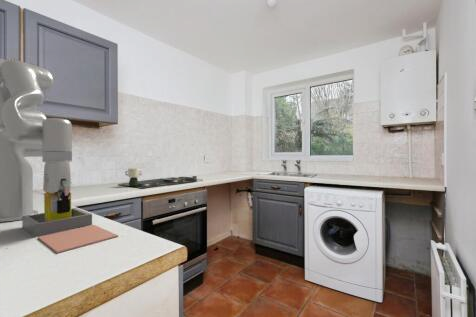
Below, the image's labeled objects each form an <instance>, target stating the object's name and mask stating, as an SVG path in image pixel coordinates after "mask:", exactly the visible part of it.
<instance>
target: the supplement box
mask: <svg viewBox="0 0 476 317" xmlns="http://www.w3.org/2000/svg"><path fill="white" fill-rule="evenodd" d="M69 192H70V191H69ZM61 195H62V194H61ZM43 198H44V199H43V200H44V201H43V205H44V207H43V210H44V211H43V213H44V215H45V222H47V221H53V220H58V219H64V218H69V217H71V209H72V192H70V212H66V213H60V214H58V213H57V201H58V197H57V193H56V192H55V193H54V194H50V193H47V192H44V194H43Z"/></svg>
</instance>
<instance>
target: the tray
mask: <svg viewBox="0 0 476 317" xmlns="http://www.w3.org/2000/svg"><path fill="white" fill-rule="evenodd" d="M21 224H22V228H23V229H24V230H25V231H27V232H28V233H29V234H30V235H32V236H33V237H34V238H38V237H40V236H45V235H49V234H54V233H58V232H63V231H67V230H72V229H77V228H79V227H80V228H81V227H83V226H84V227H86V226H88V225H89V226H90V225H93V214H92V213H90V212H86V211H84V210H82V209H79V208H76V207H73V208H72V207H71V217H69V218H64V219H58V220H53V221H47V222H45V215H44V212H41V213H38V214H33V215H27V216H22V223H21Z"/></svg>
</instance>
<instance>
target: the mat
mask: <svg viewBox="0 0 476 317" xmlns="http://www.w3.org/2000/svg"><path fill="white" fill-rule="evenodd" d="M118 237H119V235H118V234H116V233H114V232H112V231H109V230H107V229H104V228H102V227H101V226H100V227H99V225H95V224H92V225H89V226H84V227H80V228H75V229H70V230H66V231H61V232H57V233H52V234H47V235H43V236H38V237H37V239H38V240H40V241H41V242H42V243H44V244H45V245H46V246H47V247H48V246H49V248H50V249H51V250H52V251H54V252H55V253H56V254H61V253H65V252H68V250H69V251H71V250H75V249H74V248H76V249H78V247H79V248H83V247H86V246H90V245H92V244H96V243H101V242H103V241H104V242H105V241H107V239H108V240H112V239H114V238H115V239H116V238H118ZM111 238H112V239H111ZM89 244H90V245H89ZM82 246H83V247H82Z"/></svg>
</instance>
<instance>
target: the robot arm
mask: <svg viewBox="0 0 476 317" xmlns="http://www.w3.org/2000/svg"><path fill="white" fill-rule="evenodd" d="M3 83H4V84H5V85H6V86H5V85H4V84H3ZM53 86H54V77H53V75H52V73H51V72H50V71H49V70H48V69H46V68H44V67H40V66H37V65H35V64H30V63H28V62H25V61H22V60H15V59H8V60H6V59H3V58H0V223H5V222H14V221H15V222H16V221H21V220H22V216H27V215H33V214H39V211H38V210H36V209H35V210H34V192H33V191H34V190H33V189H34V188H33V186H34V184H33V183H34V182H33V181H34V180H33V179H34V178H33V177H34V176H33V175H34V173H33V172H34V170H33V167H32V165H31V164H30V162H29V161H28V160H27V159H26V158H28V157H29V158H30V157H31V158H35V157H36V158H37V157H41V158H42V163H44V167H43V168H44V169H43V180H42V181H43V184H42V186H43V187H42V190H43V192H44V193H50V194H54V193H55V192H56V193H57V197H58V201H57V213H58V214H60V213H66V212H70V191H71V189H72V188H71V187H72V185H71V184H72V179H71V178H72V176H71V166H70V165H71V164H70V162H71V163H72V162H73V136H72V135H73V132H72V131H73V126H72V122H71V121H70V120H68V119H67V118H65V119H64V118H56V117H47V116H46V115H45V114H44V113H43V112H42V111H40V110H37V109H34V107H37V106H38V105H41V104H42V103H43V102H44V99H45V96H44V93H43V92H47V91H50V90H51V89H52V88H53ZM61 194H62V195H61Z"/></svg>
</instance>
